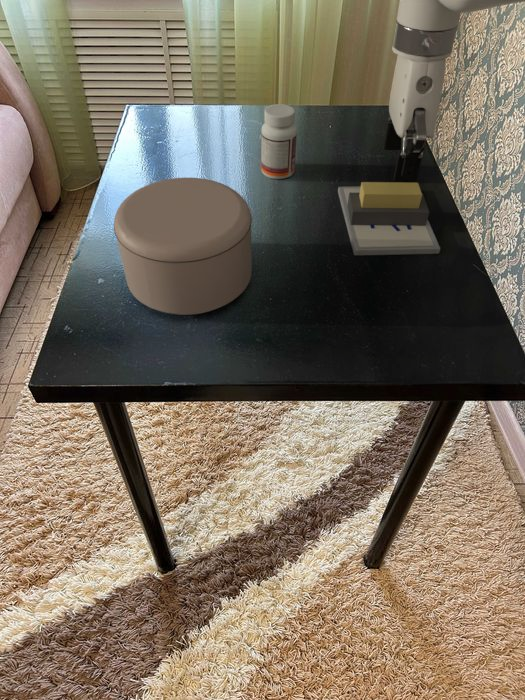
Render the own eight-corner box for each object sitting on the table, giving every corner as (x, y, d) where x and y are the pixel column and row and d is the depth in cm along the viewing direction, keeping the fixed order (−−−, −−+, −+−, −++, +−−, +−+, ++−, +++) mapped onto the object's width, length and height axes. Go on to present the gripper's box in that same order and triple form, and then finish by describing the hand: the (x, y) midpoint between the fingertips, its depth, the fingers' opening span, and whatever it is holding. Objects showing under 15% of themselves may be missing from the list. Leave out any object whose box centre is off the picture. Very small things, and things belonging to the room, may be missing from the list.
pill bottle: (279, 159, 101) (281, 99, 93) (301, 173, 98) (305, 111, 90) (254, 170, 99) (254, 108, 90) (275, 184, 96) (277, 121, 87)
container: (269, 305, 74) (271, 235, 66) (140, 335, 70) (123, 265, 62) (231, 232, 86) (228, 164, 77) (118, 254, 82) (102, 185, 73)
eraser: (419, 206, 89) (426, 179, 86) (425, 225, 86) (433, 198, 82) (347, 205, 89) (351, 178, 86) (350, 224, 86) (355, 197, 82)
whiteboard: (438, 253, 83) (440, 248, 82) (353, 255, 82) (354, 250, 81) (411, 190, 95) (413, 185, 94) (337, 191, 94) (338, 186, 93)
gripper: (471, 63, 62) (436, 195, 75) (438, 17, 74) (413, 138, 86) (406, 63, 62) (382, 195, 75) (384, 17, 74) (366, 138, 86)
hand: (399, 164), depth 81 cm, fingers open, 9 cm apart
